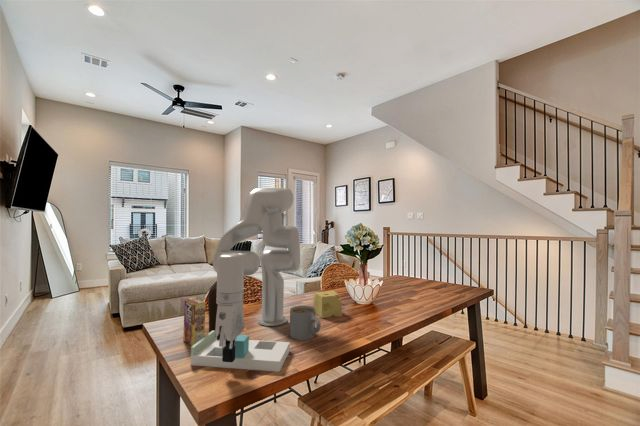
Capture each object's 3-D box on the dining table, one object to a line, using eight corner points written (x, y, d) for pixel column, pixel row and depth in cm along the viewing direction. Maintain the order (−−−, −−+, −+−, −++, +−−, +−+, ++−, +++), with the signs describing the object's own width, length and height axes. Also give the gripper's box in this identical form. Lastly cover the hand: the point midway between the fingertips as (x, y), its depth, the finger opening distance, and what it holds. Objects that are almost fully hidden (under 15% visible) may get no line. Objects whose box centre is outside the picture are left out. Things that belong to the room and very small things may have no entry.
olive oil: (205, 339, 112) (207, 272, 112) (208, 329, 122) (210, 267, 123) (235, 337, 114) (236, 271, 115) (235, 327, 125) (237, 267, 125)
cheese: (342, 316, 141) (342, 295, 141) (320, 319, 137) (321, 297, 137) (333, 310, 150) (333, 290, 150) (313, 312, 146) (313, 291, 146)
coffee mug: (284, 334, 118) (285, 308, 118) (304, 328, 125) (305, 304, 125) (305, 345, 108) (306, 317, 108) (326, 338, 115) (326, 311, 115)
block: (233, 350, 96) (233, 334, 96) (248, 350, 96) (248, 334, 96) (227, 357, 91) (227, 340, 91) (243, 357, 91) (244, 341, 91)
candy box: (205, 344, 108) (206, 301, 108) (193, 347, 104) (194, 303, 105) (194, 337, 114) (195, 296, 114) (182, 340, 111) (183, 299, 111)
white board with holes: (212, 346, 106) (212, 330, 106) (289, 351, 103) (289, 335, 103) (190, 365, 92) (190, 347, 92) (279, 371, 89) (279, 353, 89)
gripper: (231, 304, 79) (230, 375, 79) (251, 291, 94) (250, 350, 94) (205, 303, 80) (203, 372, 80) (228, 290, 95) (227, 349, 94)
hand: (228, 360), depth 87 cm, fingers closed
